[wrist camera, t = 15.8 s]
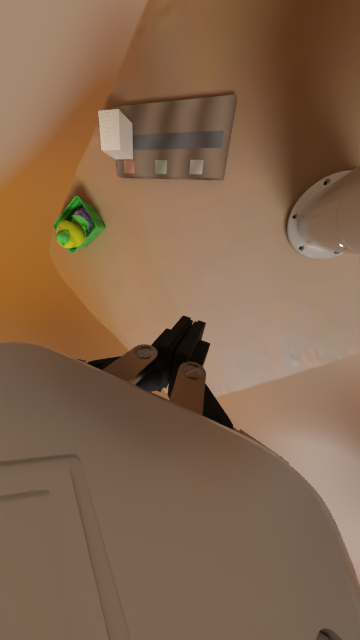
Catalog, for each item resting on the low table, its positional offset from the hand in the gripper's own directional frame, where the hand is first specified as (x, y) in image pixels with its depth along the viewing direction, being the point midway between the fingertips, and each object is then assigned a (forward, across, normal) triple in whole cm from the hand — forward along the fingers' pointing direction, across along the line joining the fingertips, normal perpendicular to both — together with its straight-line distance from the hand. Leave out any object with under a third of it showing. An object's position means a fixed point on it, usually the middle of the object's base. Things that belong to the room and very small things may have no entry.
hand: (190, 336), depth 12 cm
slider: (+28, +26, -19) cm, 43 cm away
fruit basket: (+30, +37, -2) cm, 47 cm away
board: (+30, +17, -20) cm, 40 cm away
